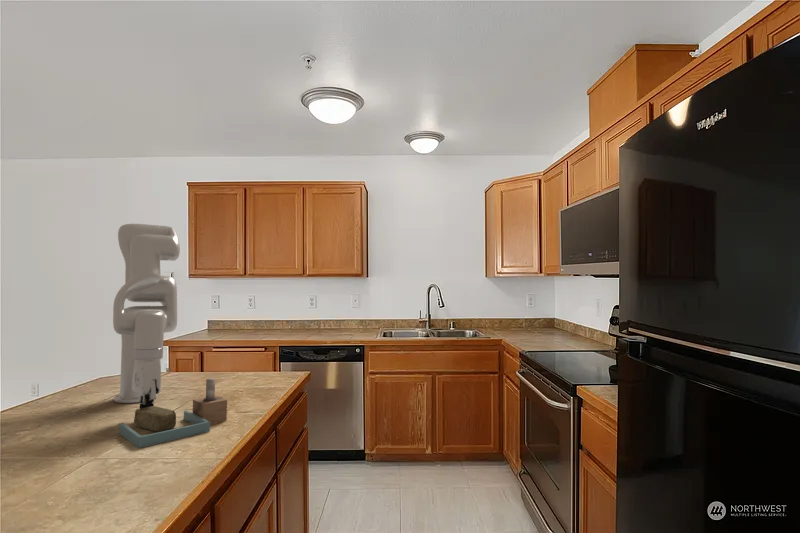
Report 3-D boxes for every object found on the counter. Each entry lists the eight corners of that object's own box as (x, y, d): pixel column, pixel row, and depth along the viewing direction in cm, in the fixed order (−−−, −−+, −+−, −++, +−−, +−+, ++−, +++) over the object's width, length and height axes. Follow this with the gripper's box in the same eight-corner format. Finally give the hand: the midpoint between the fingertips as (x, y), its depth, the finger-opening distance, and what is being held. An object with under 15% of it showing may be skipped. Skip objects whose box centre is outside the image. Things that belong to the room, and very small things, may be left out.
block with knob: (192, 420, 132) (193, 379, 132) (215, 415, 137) (216, 375, 138) (202, 425, 127) (204, 382, 128) (226, 420, 133) (227, 379, 133)
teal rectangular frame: (119, 433, 120) (119, 423, 120) (186, 418, 133) (186, 410, 133) (139, 447, 110) (139, 437, 110) (209, 431, 123) (210, 421, 123)
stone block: (158, 433, 120) (158, 414, 120) (131, 427, 126) (132, 409, 126) (177, 427, 125) (178, 409, 126) (151, 421, 131) (152, 404, 131)
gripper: (125, 352, 134) (123, 414, 133) (143, 358, 124) (141, 426, 123) (152, 349, 139) (150, 409, 139) (172, 355, 129) (169, 420, 129)
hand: (146, 417), depth 131 cm, fingers closed
